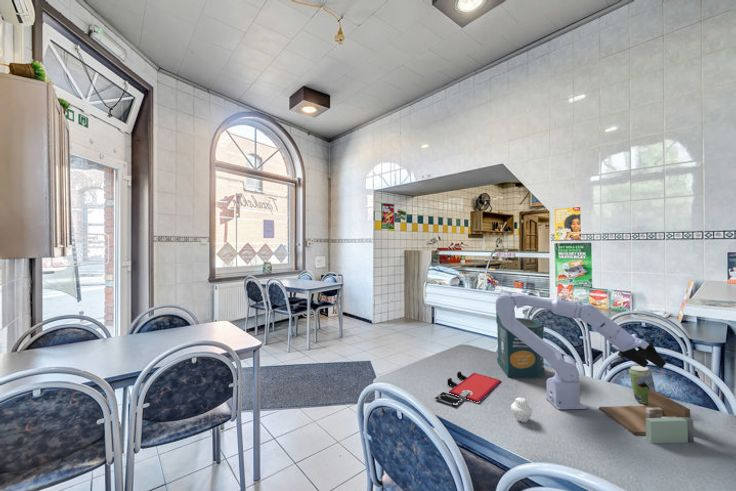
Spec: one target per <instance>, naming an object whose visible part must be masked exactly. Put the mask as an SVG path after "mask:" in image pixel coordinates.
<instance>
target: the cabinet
mask: <svg viewBox="0 0 736 491" xmlns="http://www.w3.org/2000/svg"><path fill="white" fill-rule="evenodd" d="M598 409H599V411H601V412H602V413H603V414H605V415H607V416H608V417H609V418H610V419H612V420H613V421H615V422H616V424H617V423H618V424H619V425H620V426H622V427H623V428H624V429H626V430H627V431H628V432H629V433H631V434H633V435H634V436H638V435H639V436H642V435H644V436H646V418H680V417H682V418H683V417H688V418H691V409H690V408H688V407H686V406H684V405H682V404H680V403H679V402H676V401H675V400H673V399H671V398H669V397H668V396H665V395H663V394H661V393H659V392H658V391H654V390H648V404H647V405H626V406H624V405H622V406H619V405H618V406H616V405H615V406H598Z"/></svg>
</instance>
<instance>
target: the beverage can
mask: <svg viewBox="0 0 736 491" xmlns="http://www.w3.org/2000/svg"><path fill="white" fill-rule="evenodd" d="M629 368H630V369H629V370H628V372H629V378H630V382H631V388H632V392H633V396H634V400H636V402H639V403H640V404H643V405H648V390H654V391H656V386H655V382H654V376H653V373H652V371H651V370H650V369H649V367H648V366H646V367H642V366H640V365H638V364H636V365H631V366H630V367H629ZM656 392H657V391H656Z"/></svg>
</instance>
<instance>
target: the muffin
mask: <svg viewBox="0 0 736 491" xmlns="http://www.w3.org/2000/svg"><path fill="white" fill-rule="evenodd" d="M510 409H511V411H512V414H513V416H514V417H515V419H517V421H518V422H520V421H521V422H520V423H527V422H528V421H529V419H530V417H531V416H532V414H533V408H532V407H531V405H530V404H529V403H528V400H527V399H526V398H524V397H517V398H515V399H514V402H512V403H511V404H510Z"/></svg>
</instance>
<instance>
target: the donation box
mask: <svg viewBox="0 0 736 491" xmlns="http://www.w3.org/2000/svg"><path fill="white" fill-rule="evenodd" d="M495 311H496V310H495ZM495 313H496V314H495V317H496V318H495V319H496V325H497V328H496V329H497V357H496V361H497V362H498V363H497V365H498V366H499V365H500V366H499V367H500V369H501V370H502V371H503V373H504V372H505V373H504V374H505V375H506V377H507V378H513V377H518V378H520V379H521V378H523V379H524V378H525V379H539V378H541V377H542V376H544V375H545V374H546V368H544V367H545V366H544V365H545V364H544V363H545V361H544V360H545V359H544V358H543V357H541V356H540V355H539V354H538V353H536V352H535V351H534V350H533V349H531V348H530V347H529V346H528V345H526V344H525V343H524V342H523V341H521V340H520V339H519V338H518V337H516V336H515V335H514V334H513V333H511V332H510V331H509V330H508V329H506V328H505V327H504V326H503V325H502V323H501V321H500V318H499V315H498V313H497V311H496V312H495ZM515 318H516V319H517V320H518V321H519V322H520V323H522V324H523V325H524V326H526V327H527V328H528V329H530V330H531V331H532V332H533V333H535V334H536V335H537V336H539V337H540V338H541V339H542V340H544V331H545V327H544V324H543V323H541V322H540V321H538V320H535V319H530V318H526V317H519V318H518V317H515ZM518 378H517V379H518Z"/></svg>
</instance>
